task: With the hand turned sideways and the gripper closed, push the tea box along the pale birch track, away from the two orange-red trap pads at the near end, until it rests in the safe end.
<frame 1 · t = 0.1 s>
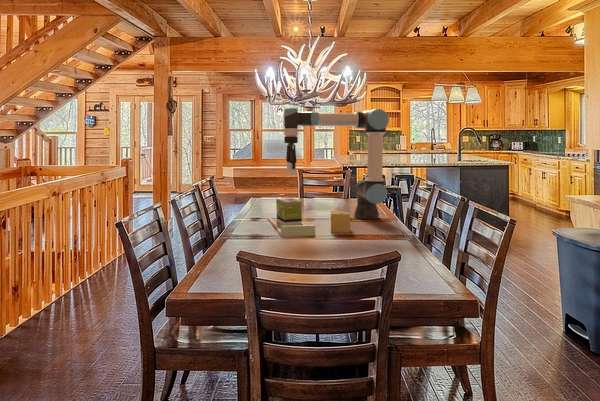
hand: (291, 174, 290), 28 cm above the table, tool pointing down, fingers open, 13 cm apart
tea box: (288, 226, 284), on the table
track rails: (291, 228, 277), on the table
safe end: (295, 228, 262), on the table
trap pads: (284, 221, 299), on the table
cheese: (340, 231, 270), on the table
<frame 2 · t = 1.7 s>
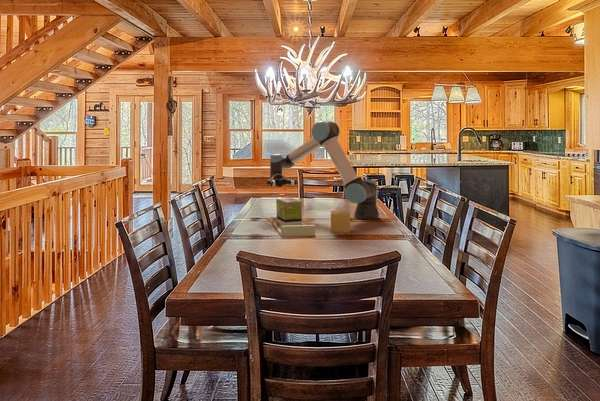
hand: (284, 183, 297), 22 cm above the table, tool horizontal, fingers open, 10 cm apart
nothing on the table moved.
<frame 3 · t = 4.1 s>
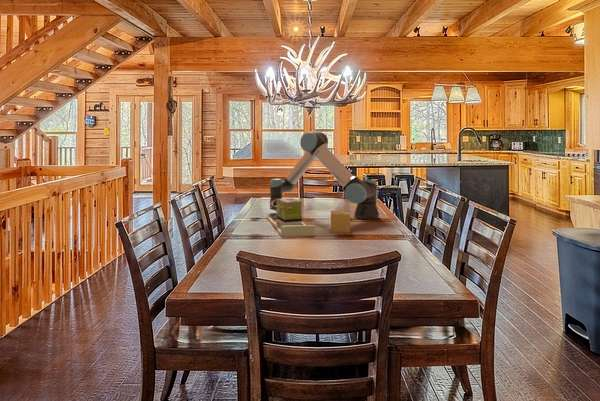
hand: (284, 210, 298), 6 cm above the table, tool horizontal, fingers closed
nothing on the table moved.
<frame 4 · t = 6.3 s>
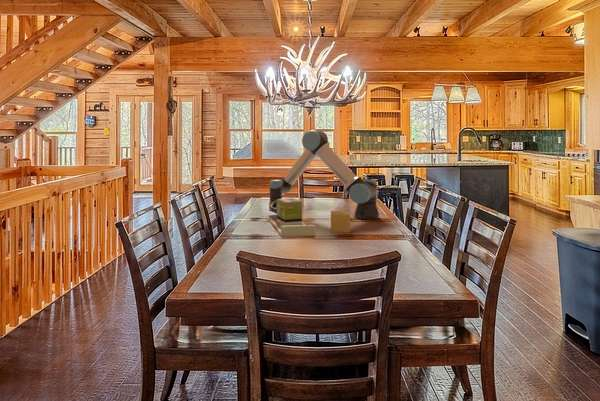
hand: (283, 212, 289), 6 cm above the table, tool horizontal, fingers closed
tea box: (289, 226, 283), on the table, touching gripper
everything else where it was.
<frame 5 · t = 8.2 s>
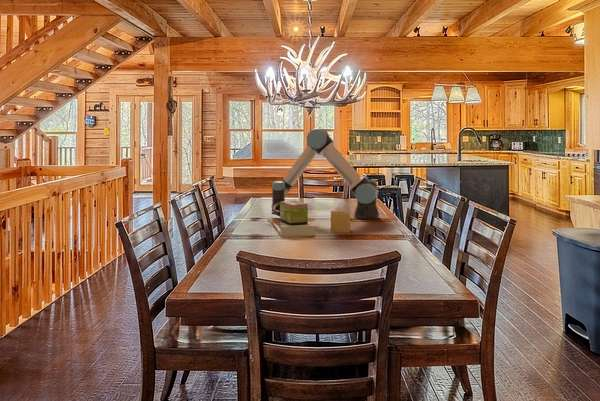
hand: (287, 215, 278), 6 cm above the table, tool horizontal, fingers closed
tea box: (293, 230, 272), on the table, touching gripper
everything else where it was.
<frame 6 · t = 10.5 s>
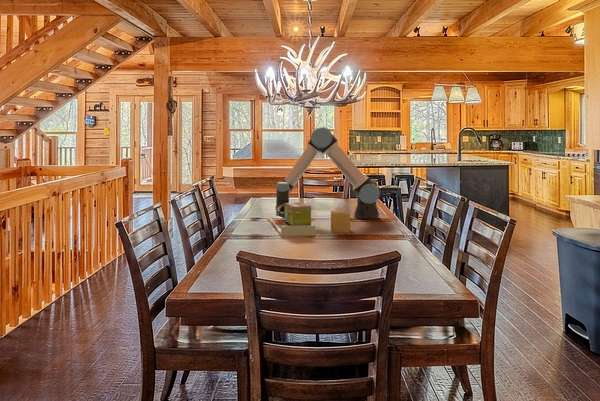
hand: (292, 217, 272), 7 cm above the table, tool horizontal, fingers closed
tea box: (297, 232, 265), on the table, touching gripper, safe end
everything else where it was.
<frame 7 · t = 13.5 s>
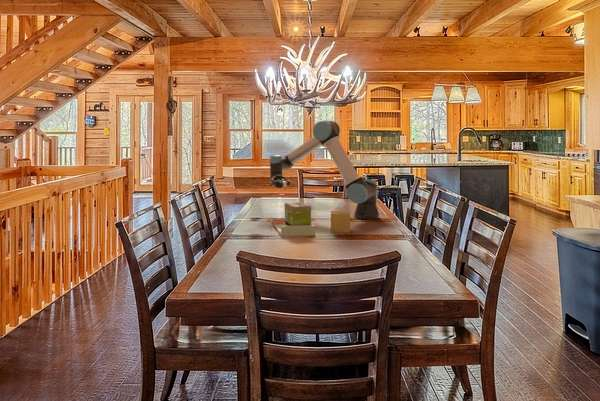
hand: (285, 184, 292), 22 cm above the table, tool horizontal, fingers closed
tea box: (297, 232, 265), on the table
everything else where it was.
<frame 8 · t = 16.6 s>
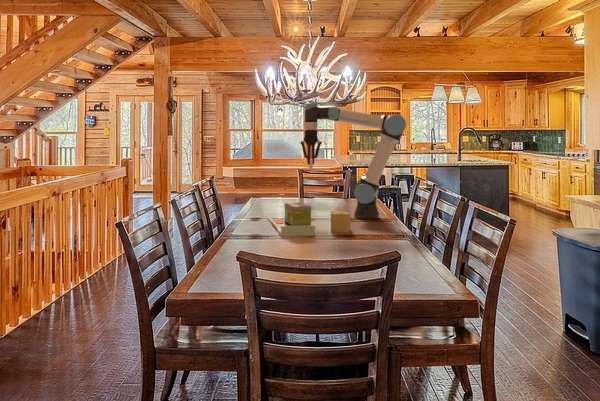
hand: (310, 169, 306), 29 cm above the table, tool pointing down, fingers closed
nothing on the table moved.
at the end: tea box inside the target area (1.4 cm from its centre), on the table; tea box tilted 0° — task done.
